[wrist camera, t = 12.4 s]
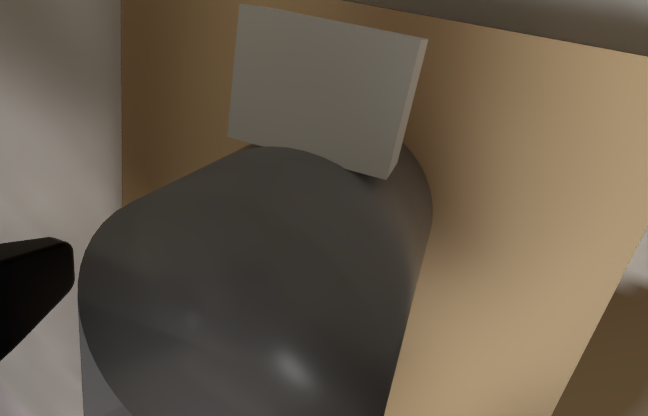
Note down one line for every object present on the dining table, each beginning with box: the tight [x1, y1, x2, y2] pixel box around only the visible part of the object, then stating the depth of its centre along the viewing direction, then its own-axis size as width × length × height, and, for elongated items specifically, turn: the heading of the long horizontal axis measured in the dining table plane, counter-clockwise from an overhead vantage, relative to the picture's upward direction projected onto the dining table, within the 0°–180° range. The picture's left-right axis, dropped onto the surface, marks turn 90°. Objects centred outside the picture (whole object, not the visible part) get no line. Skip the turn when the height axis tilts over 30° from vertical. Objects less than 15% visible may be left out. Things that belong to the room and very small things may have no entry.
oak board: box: [121, 0, 648, 416], centre depth 11 cm, size 11×11×1 cm
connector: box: [78, 4, 433, 416], centre depth 8 cm, size 4×9×5 cm, turn 169°
